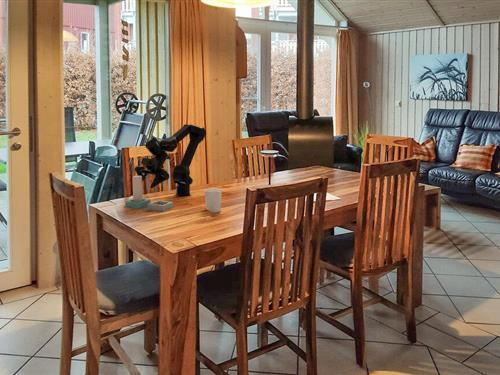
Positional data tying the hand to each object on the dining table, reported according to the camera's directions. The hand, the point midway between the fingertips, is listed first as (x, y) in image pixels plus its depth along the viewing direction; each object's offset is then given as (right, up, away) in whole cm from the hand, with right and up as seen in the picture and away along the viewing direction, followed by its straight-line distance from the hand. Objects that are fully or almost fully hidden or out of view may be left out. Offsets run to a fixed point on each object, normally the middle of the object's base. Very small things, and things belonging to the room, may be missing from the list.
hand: (143, 187), depth 249 cm
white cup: (+34, -11, -7) cm, 36 cm away
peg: (-2, -9, -2) cm, 9 cm away
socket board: (+3, -10, -4) cm, 12 cm away
